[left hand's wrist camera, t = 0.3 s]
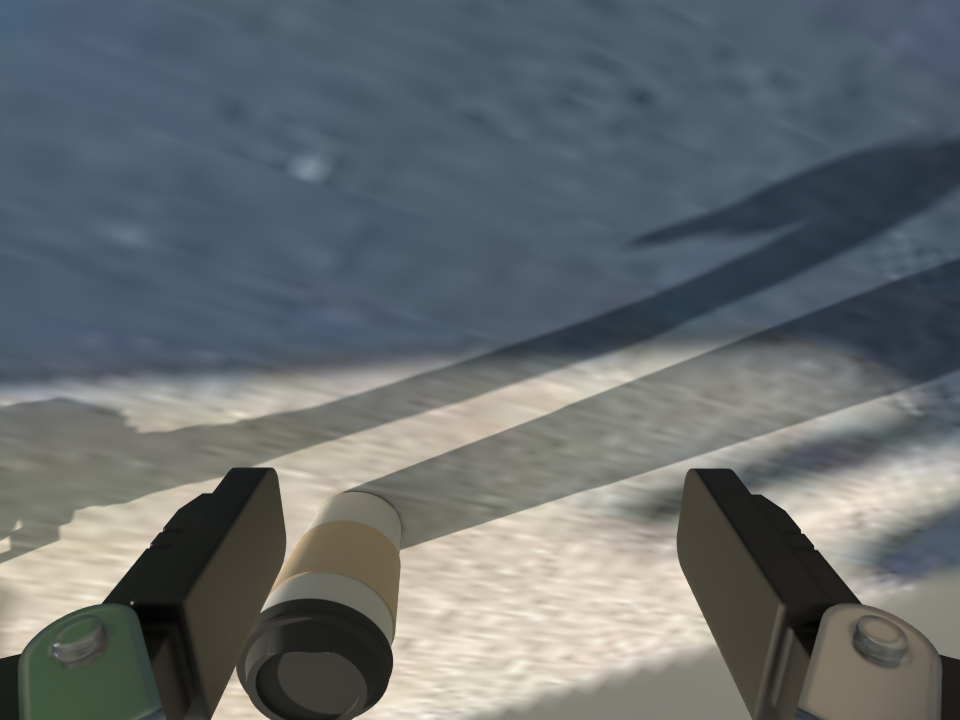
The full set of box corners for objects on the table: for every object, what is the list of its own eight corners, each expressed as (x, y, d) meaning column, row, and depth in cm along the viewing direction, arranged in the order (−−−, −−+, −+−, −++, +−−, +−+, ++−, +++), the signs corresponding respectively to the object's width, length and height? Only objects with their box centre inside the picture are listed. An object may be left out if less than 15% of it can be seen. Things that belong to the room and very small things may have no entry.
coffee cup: (418, 572, 48) (393, 751, 34) (309, 575, 48) (238, 755, 34) (410, 477, 45) (378, 631, 31) (293, 480, 45) (207, 635, 31)
